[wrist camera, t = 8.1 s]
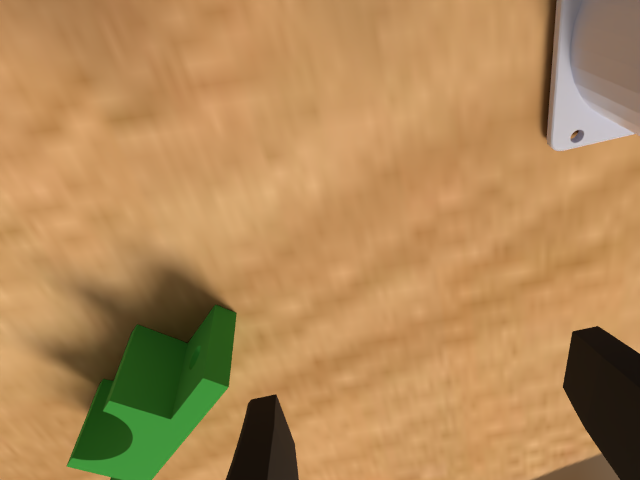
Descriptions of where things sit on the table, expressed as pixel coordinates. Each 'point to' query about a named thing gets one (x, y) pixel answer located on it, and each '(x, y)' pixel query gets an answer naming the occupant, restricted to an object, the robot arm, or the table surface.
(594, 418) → the robot arm
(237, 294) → the table surface
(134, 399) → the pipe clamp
